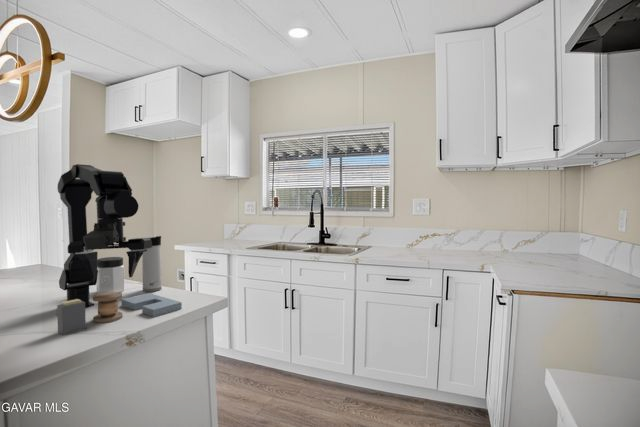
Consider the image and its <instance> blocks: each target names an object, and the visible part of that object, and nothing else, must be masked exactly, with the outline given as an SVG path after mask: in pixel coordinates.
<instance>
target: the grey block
mask: <svg viewBox="0 0 640 427" xmlns="http://www.w3.org/2000/svg"><path fill="white" fill-rule="evenodd" d="M56 307H57V310H56V311H57V313H56V314H57V334H60V335H61V336H65V335H70V334H72V333H73V334H74V333H76V332H80V331H83V329H84V330H86V329H87V328H86V325H87V324H86V307H85V302H83V301H81V300H79V299H75V300H70V301H67V300H65V301H61V303H60V304H57V306H56Z"/></svg>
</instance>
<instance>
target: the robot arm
mask: <svg viewBox="0 0 640 427" xmlns="http://www.w3.org/2000/svg"><path fill="white" fill-rule="evenodd" d="M57 192H58V194H59V196H60V200H61V201H62V203H63V204H64V206H65V207H66V208H67V221H68V222H67V223H68V245H67V254H69V256H68V257H67V259H66V260H65V262H64V264H63V270H62V272H61V273H60V274H61V275H60V276H59V277H60V278H59V280H58V285H59V286H58V287H59V289H61V290H62V291H66V301H70V300H75V299H79V300H81V301H83V302H85V308H87V307H92V306H95V303H94V302H92V301H90V287H91V286H97V276H98V270H97V259H98V255H99V254H98V251H95V250H110V249H128V250H129V251H126V254H127V257H128V277H129V278H133V276H134V275H135V274H134V273H135V271H136V269H137V267H138V263H139V261H140V260H141V258H142V254H143V252H145V251H147V249H148V248H152V241H151V239H150V238H151V237H136V238H135V237H134V238H130V239H128V240H127V237H126V236H124V226H126V222H125V221H124V220H123V219H126V218H127V219H128V218H130V217H133V216H135V215H136V214H137V212H138V211H139V203H138V201H137V199H136V198H135V197H134V196H133V189H132V187H131V186H130V184H129V182H128V180H127V178H126V176H125V174H124V173H123V172H122V171H113V170H111V171H110V170H102V169H99V168H96V167H95V166H93V165H90V164H79V163H78V164H73V165H72V167H71V168H70V169H69V170H68V171H66V172H64V173H62V174H61V176H60V178H59V179H58V182H57ZM93 193H94V194H95V195H96V196H97V197H95V201H94V202H95V203H96V221H97V222H96V223H95V222H94V224H93V230H91V231H89V232H88V225H87V223H88V222H87V206H88V204H89V203H90V201H91V200H92V194H93Z"/></svg>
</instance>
